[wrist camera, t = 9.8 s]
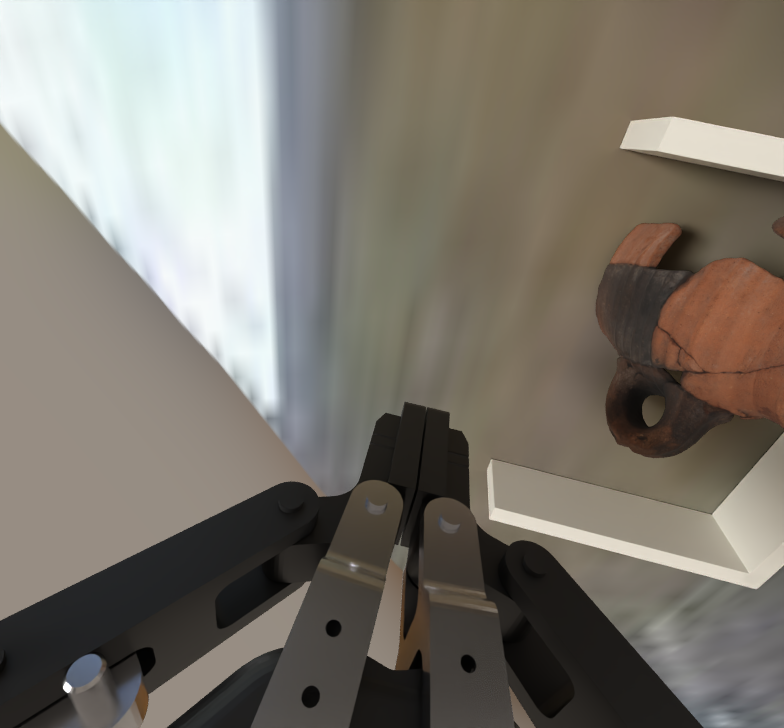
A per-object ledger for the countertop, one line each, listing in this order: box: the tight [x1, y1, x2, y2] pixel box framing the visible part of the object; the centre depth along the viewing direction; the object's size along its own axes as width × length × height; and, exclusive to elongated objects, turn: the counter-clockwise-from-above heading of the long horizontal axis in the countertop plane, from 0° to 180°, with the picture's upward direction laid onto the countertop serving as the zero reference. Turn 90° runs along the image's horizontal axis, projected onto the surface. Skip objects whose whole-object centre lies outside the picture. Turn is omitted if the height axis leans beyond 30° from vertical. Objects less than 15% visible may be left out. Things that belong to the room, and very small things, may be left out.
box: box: [487, 117, 784, 589], centre depth 19 cm, size 15×20×4 cm
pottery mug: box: [596, 217, 784, 458], centre depth 18 cm, size 12×10×8 cm
